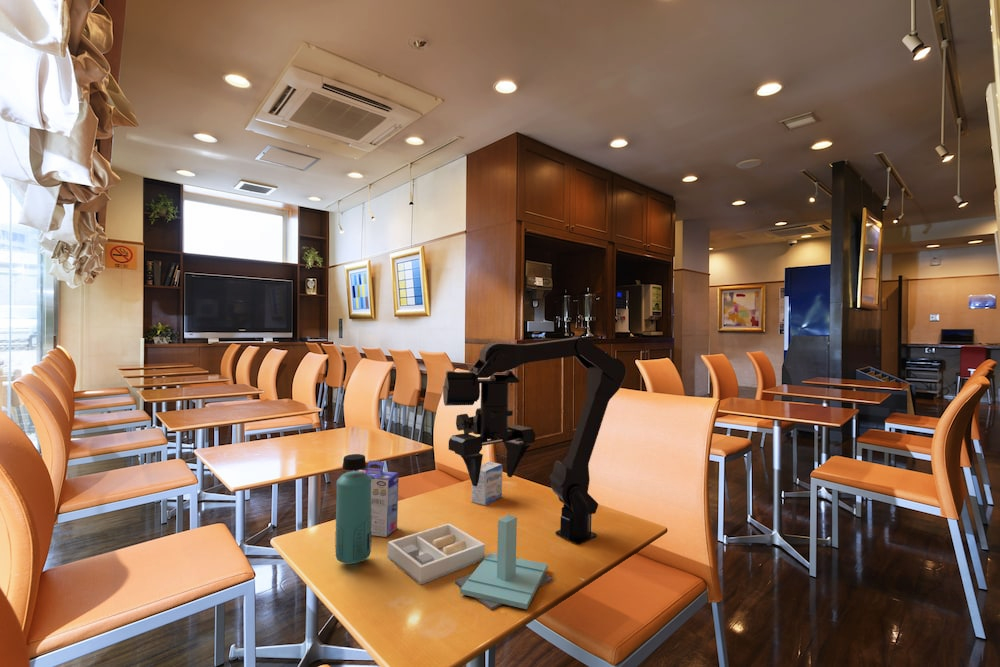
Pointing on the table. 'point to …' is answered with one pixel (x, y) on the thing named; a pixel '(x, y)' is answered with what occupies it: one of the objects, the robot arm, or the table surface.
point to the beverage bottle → (353, 512)
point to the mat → (492, 604)
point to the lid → (505, 572)
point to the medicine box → (488, 484)
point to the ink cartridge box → (383, 499)
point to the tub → (435, 552)
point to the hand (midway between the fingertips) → (492, 481)
